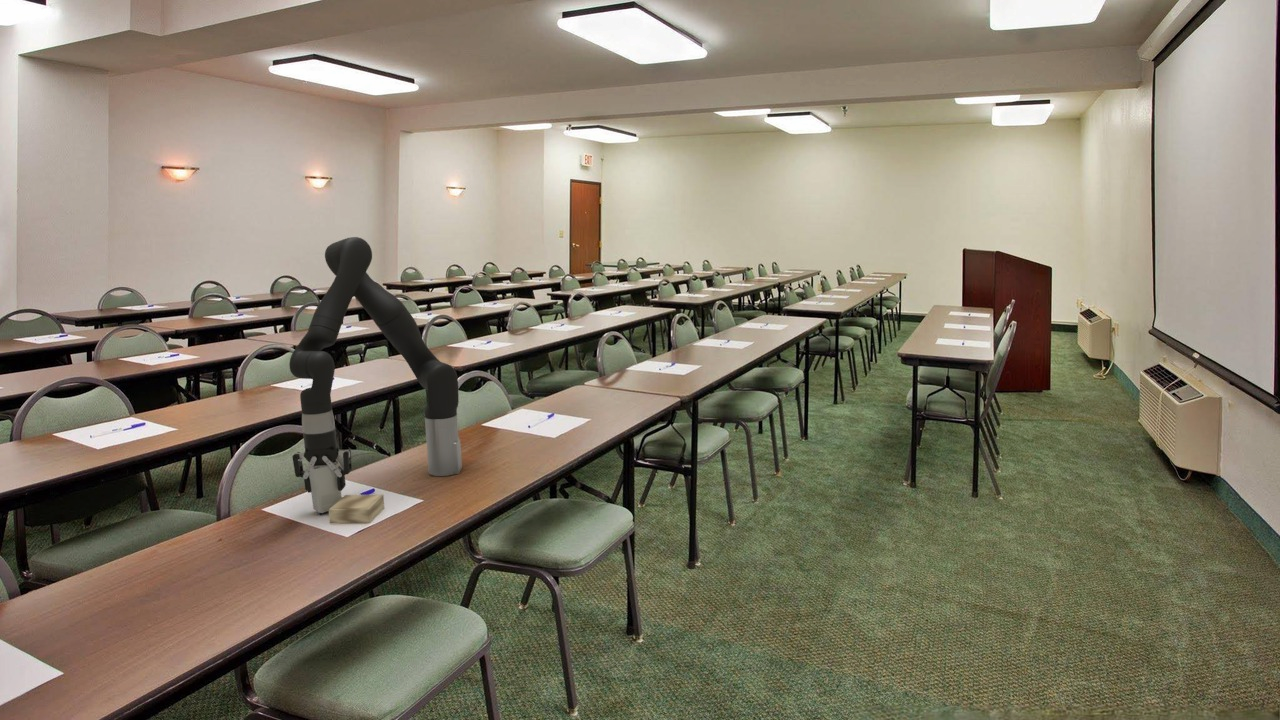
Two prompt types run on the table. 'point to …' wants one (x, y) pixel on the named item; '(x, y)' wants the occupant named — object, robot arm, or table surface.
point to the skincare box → (324, 488)
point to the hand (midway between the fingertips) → (325, 490)
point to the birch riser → (356, 509)
